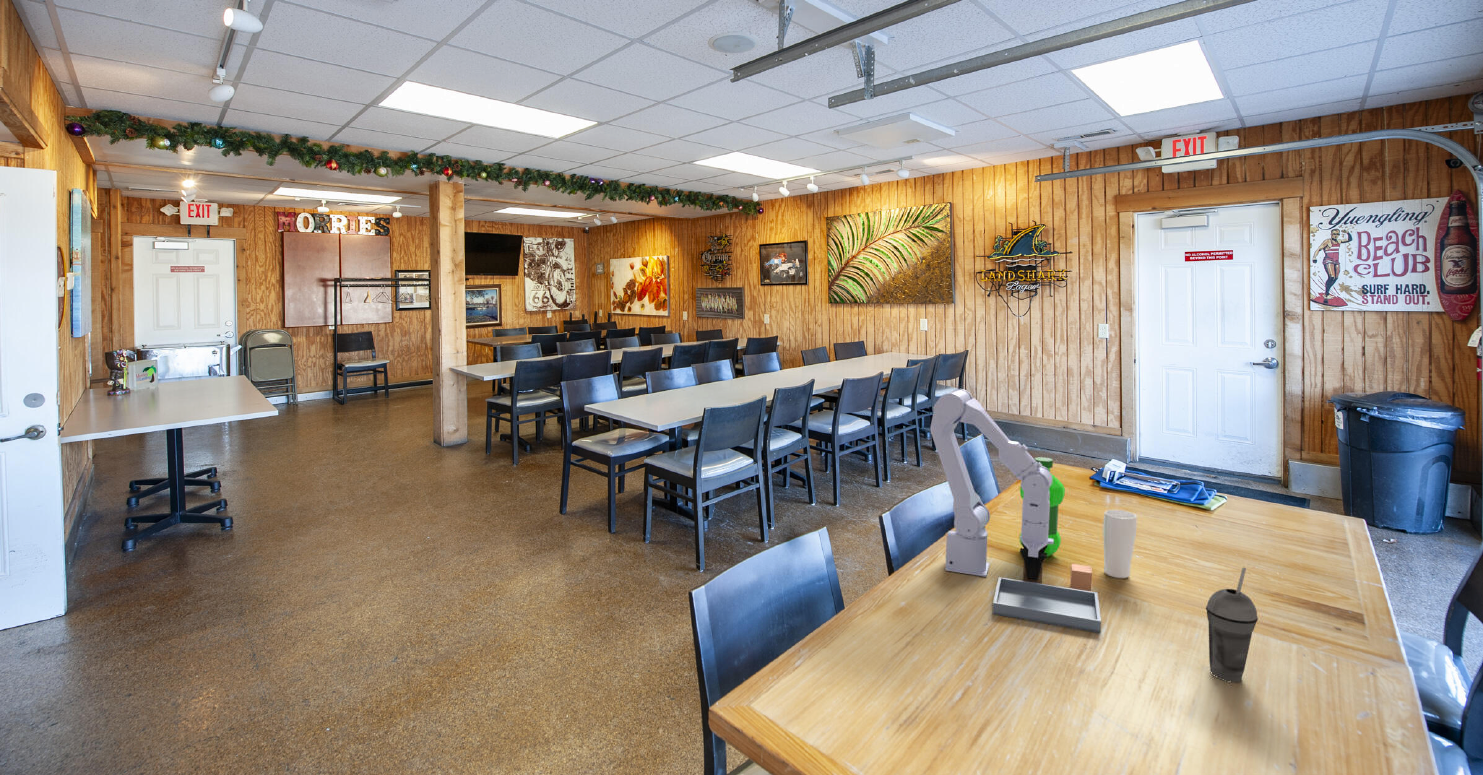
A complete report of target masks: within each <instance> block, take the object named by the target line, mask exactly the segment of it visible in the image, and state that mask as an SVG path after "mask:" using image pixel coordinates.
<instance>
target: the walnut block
mask: <svg viewBox="0 0 1483 775" xmlns="http://www.w3.org/2000/svg"><path fill="white" fill-rule="evenodd" d="M1043 565H1044V564H1042V566H1041V569H1040V573H1039V577H1038V580H1037V581H1035V580H1028V579H1027V575H1026V568H1025V563H1024V562H1023V569H1022V570H1023V572H1022V581H1027V582H1033V583H1040V584H1043V569H1044V568H1043Z"/></svg>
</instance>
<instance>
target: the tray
mask: <svg viewBox="0 0 1483 775" xmlns="http://www.w3.org/2000/svg"><path fill="white" fill-rule="evenodd" d="M1099 601H1100V600H1099V594H1098V591H1097V592H1096V591H1092V590H1091V591H1085V590H1078V589H1072V588H1071V587H1066V586H1058V585H1051V584H1046V583H1042V584H1040V583H1033V582H1027V581H1023V580H1019V579H1013V578H1007V577H1001V576H999V577H998V578H997V582H996V588H995V592H994V597H993V602H992V615H995V616H996V615H997V616H1003V617H1006V618H1007V617H1008V618H1012V619H1013V618H1014V619H1018V620H1024V621H1030V622H1035V623H1041V624H1045V625H1052V626H1057V627H1062V628H1063V627H1064V628H1069V629H1075V630H1081V631H1085V632H1090V633H1097V634H1101V632H1102V631H1101V630H1102V629H1101V628H1102V618H1101V610H1100V602H1099Z"/></svg>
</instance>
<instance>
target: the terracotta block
mask: <svg viewBox="0 0 1483 775" xmlns="http://www.w3.org/2000/svg"><path fill="white" fill-rule="evenodd" d="M1092 577H1093V571H1092V566H1090V565H1084V564H1083V565H1082V564H1076V563H1071V568H1070V588H1072V589H1078V590H1085V591H1091V592H1092V579H1093V578H1092Z"/></svg>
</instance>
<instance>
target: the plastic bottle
mask: <svg viewBox="0 0 1483 775" xmlns="http://www.w3.org/2000/svg"><path fill="white" fill-rule="evenodd" d="M1034 460H1035V461H1036V462H1037V463H1038V462H1040V463H1041V464H1042V466H1044V467H1046V468H1047V469H1048V470H1049V472H1050V473H1051V469H1052V468H1053V466H1054V459H1052V458H1050V457H1044V456H1043V457H1042V456H1041V457H1039V456H1038V457H1037V456H1036V457H1035V458H1034ZM1051 475H1052V479H1053V480H1052V484H1051V486H1050V488H1049V491H1050V493H1049V494H1050V498H1049V501H1050V511H1049V530H1048V538H1050V539H1053V540H1054V542H1053V544H1048V545H1047V548H1046V550H1045V551H1044V553H1047V557H1046V558H1048V556H1049V557H1050V556H1051V555H1053V554H1055V553H1056V552H1057V551H1058V550H1059V548H1060V546H1061V542H1062V538H1061V535H1060V533H1059V531H1058V522H1059V505H1060V504H1062V502H1063V500H1064V497H1065V494H1066V489H1065V488H1066V487H1064V486H1065V485H1064V484H1063V483H1062V482H1061V481H1060V480H1059V479H1058V478H1057V477H1056V476H1055V475H1054V474H1052V473H1051ZM1019 494H1020V497H1021V499H1022V500H1023V498H1024V491H1023V490H1022V488H1021V485H1020V487H1019ZM1020 536H1021V533H1020V534H1019V540H1018V541H1019V542H1020V545H1021V546H1022V547H1023V545H1022V542H1021V540H1020Z"/></svg>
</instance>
